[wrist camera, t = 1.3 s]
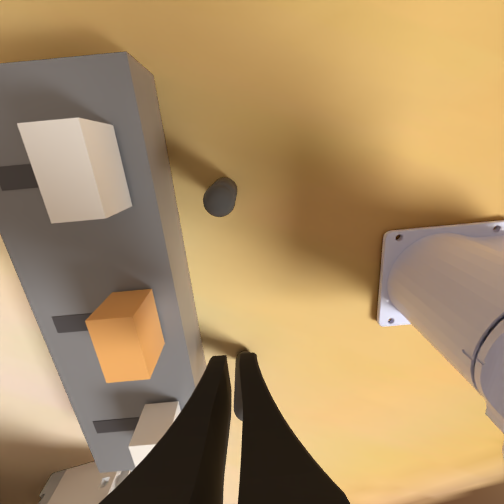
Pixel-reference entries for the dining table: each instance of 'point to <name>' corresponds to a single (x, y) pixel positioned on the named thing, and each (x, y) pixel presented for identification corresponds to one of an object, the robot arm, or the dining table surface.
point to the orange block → (127, 335)
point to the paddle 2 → (152, 428)
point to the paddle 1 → (76, 168)
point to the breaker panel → (99, 242)
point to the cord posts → (221, 204)
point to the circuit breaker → (80, 485)
